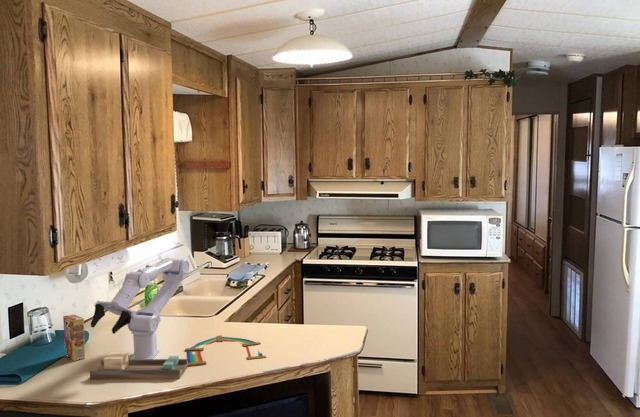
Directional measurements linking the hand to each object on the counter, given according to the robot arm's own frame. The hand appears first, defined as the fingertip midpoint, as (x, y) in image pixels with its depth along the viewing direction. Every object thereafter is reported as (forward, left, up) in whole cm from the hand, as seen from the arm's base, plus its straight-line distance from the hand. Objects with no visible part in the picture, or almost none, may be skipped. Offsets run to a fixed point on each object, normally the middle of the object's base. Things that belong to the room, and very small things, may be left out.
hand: (102, 328), depth 178 cm
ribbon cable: (-29, +34, -18) cm, 48 cm away
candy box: (-21, -20, -17) cm, 33 cm away
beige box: (-5, +2, -15) cm, 16 cm away
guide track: (-5, +10, -17) cm, 20 cm away
